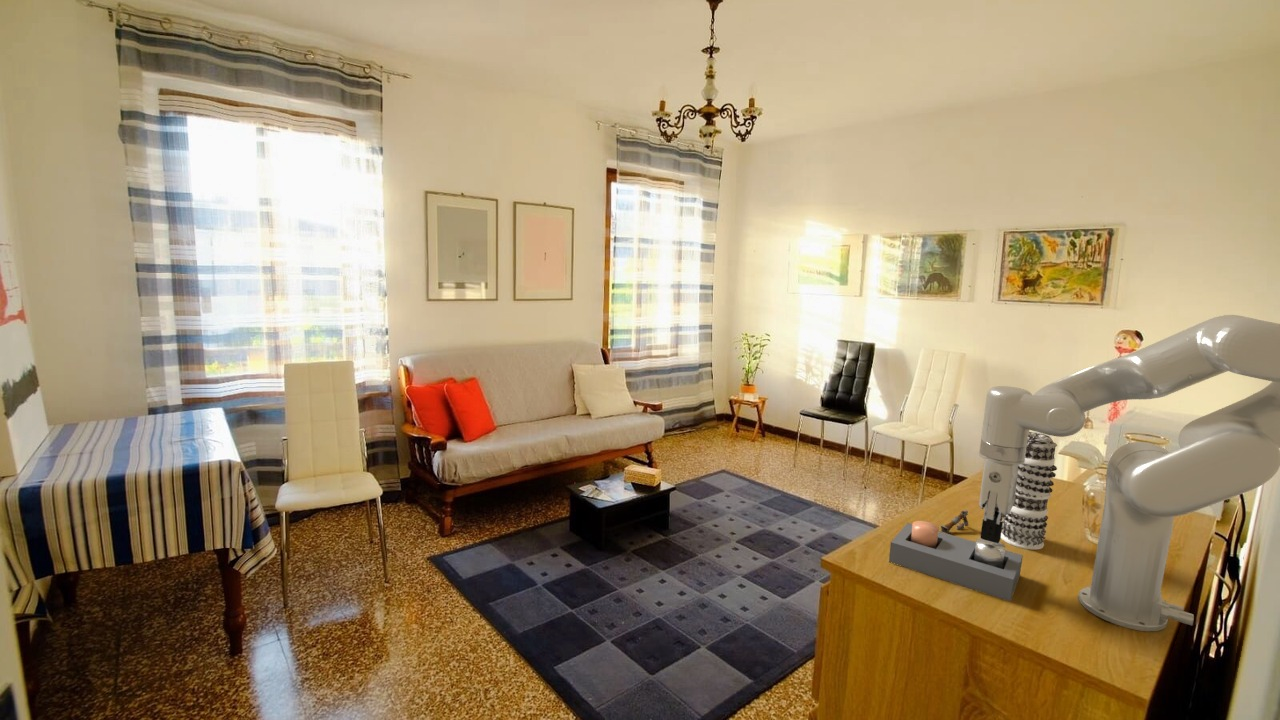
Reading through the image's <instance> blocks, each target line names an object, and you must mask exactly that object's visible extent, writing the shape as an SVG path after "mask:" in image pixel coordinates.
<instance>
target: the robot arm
mask: <svg viewBox="0 0 1280 720" xmlns="http://www.w3.org/2000/svg"><path fill="white" fill-rule="evenodd" d="M1226 372H1231V373H1233V374H1237V375H1240V376H1243V377H1250V378H1254V379H1259V380H1265V381H1269V382H1270V383H1269V384H1268V385H1267V386H1265V387H1264V388H1262V389H1260V390H1259V391H1257V392H1255V393H1253V394H1250V395H1249V396H1247V397H1245V398H1242V399H1241V400H1238V401H1236V402H1233V403H1231V404H1228V405H1227V406H1224V407H1222V408H1219V409H1217V410H1214V411H1213V412H1211V413H1208V414H1204V415H1202V416H1200V417H1198V418H1196V419H1194V420H1192V421H1190V422H1188V423H1187V424H1186V425H1185V426H1183V427H1182V429H1181V430H1180V432H1179V434H1178V444H1179V448H1177V449H1175V450H1172V451H1169V450H1167V449H1165V448H1163V447H1162V446H1160V445H1158V444H1154V443H1151V442H1147V441H1146V442H1145V441H1134V442H1133V441H1132V442H1128V443H1126V444H1124V445H1120V446H1119V447H1118V448H1117V449H1116V450H1115V451H1114V452H1113V453H1112V454H1111V455H1110V458H1109V459H1108V462H1107V467H1106V475H1105V476H1106V477H1105V496H1104V504H1103V511H1102V518H1101V523H1100V529H1099V534H1098V540H1097V546H1096V547H1097V548H1096V551H1095V552H1096V553H1095V559H1094V566H1093V571H1092V577H1091V584H1090V586H1086V587H1083V588H1082V589H1080V591H1078V601H1079V602H1080V604H1081V605H1082V606H1083V608H1084V609H1086V610H1087V611H1089V612H1090V613H1091V614H1093V615H1095V616H1096V617H1098V618H1100V619H1103V620H1104V621H1106V622H1110V623H1111V624H1114V625H1116V626H1120V627H1122V628H1126V629H1131V630H1136V631H1142V632H1159V631H1162V630H1164V629H1165V628H1166V627H1167V625H1168V619H1171V620H1174V621H1177V622H1179V623H1182V624H1185V625H1189V626H1193V625H1194V618H1195V616H1194V614H1193V613H1190V612H1188V611H1184V606H1182V605H1178V604H1175V603H1170V602H1166V599H1163V597H1162V596H1163V593H1162V591H1161V590H1162V586H1163V581H1164V574H1165V570H1166V564H1167V558H1168V554H1169V553H1168V552H1169V547H1170V543H1171V540H1172V534H1173V529H1174V520H1175V517H1180V516H1184V515H1187V514H1189V513H1193V512H1197V511H1199V510H1201V509H1204V508H1207V507H1211V506H1213V505H1216V504H1218V503H1221V502H1223V501H1226V500H1228V499H1229V500H1230V499H1231V498H1234V497H1237V496H1240V495H1243V494H1246V493H1247V492H1248V493H1249V492H1250V491H1253V490H1255V489H1258V488H1259V487H1261V486H1263V485H1264V484H1265V483H1267V482H1269V481H1270V480H1271V479H1272V478H1273V477H1275V475H1276V474H1277V473H1278V471H1279V469H1280V323H1277V322H1272V321H1267V320H1261V319H1257V318H1253V317H1249V316H1242V315H1238V314H1237V315H1236V314H1224V315H1219V316H1216V317H1215V316H1214V317H1211V318H1209V319H1207V320H1203V321H1202V322H1199V323H1197V324H1195V325H1193V326H1191V327H1188V328H1186V329H1183V330H1181V331H1179V332H1177V333H1174V334H1172V335H1170V336H1168V337H1166V338H1163V339H1160V340H1159V341H1156V342H1155V343H1152V344H1150V345H1146V346H1145V347H1142V348H1140V349H1138V350H1135V351H1132V352H1131V353H1130V352H1129V353H1128V354H1126V355H1121V356H1119V357H1116V358H1113V359H1110V360H1107V361H1105V362H1101V363H1099V364H1095V365H1092V366H1088V367H1087V368H1083V369H1081V370H1078V371H1077V372H1074V373H1071V374H1068V375H1067V376H1064V377H1062V378H1060V379H1058V380H1056V381H1052V382H1051V383H1049V384H1046V385H1045V386H1043V387H1041V388H1040V389H1038V390H1037V391H1036V392H1035V393H1034V394H1032V393H1031V392H1030V391H1029V390H1027V389H1024V388H1021V387H1015V386H1007V385H1005V386H1004V385H998V386H993V387H990V388H989V390H987V393H986V398H985V406H984V407H985V408H984V414H983V420H982V428H981V436H980V445H979V452H978V456H979V457H980V458H982V459H983V460H984V465H983V472H982V477H981V484H980V494H979V508H980V509H981V510H984V512H983V518H982V522H981V531H980V538H981V539H984V540H987V541H991V542H994V543H999V542H1000V541H1001V540H1002V539H1001V533H1002V524H1003V522H1002V520H1003V519H1004V517H1003V514H1004V515H1008V514H1009V513H1010V511H1011V509H1012V507H1013V505H1014V502H1015V494H1016V485H1017V476H1018V465H1021V464H1023V463H1024V462H1025V455H1026V448H1027V440H1028V434H1029V432H1030V431H1031V432H1036V433H1041V434H1045V435H1047V436H1050V437H1056V438H1057V437H1058V438H1062V437H1063V438H1064V437H1065V438H1066V437H1070V436H1073V435H1076V434H1078V433H1079V432H1080V431H1081V430H1082V429H1083V427H1084V426H1085V424H1086V412H1089V411H1091V410H1094V409H1097V408H1099V407H1101V406H1104V405H1108V404H1111V403H1116V402H1121V401H1128V400H1129V401H1130V400H1131V401H1132V400H1153V399H1160V398H1163V397H1167V396H1168V395H1171V394H1174V393H1177V392H1179V391H1182V390H1183V389H1187V388H1188V387H1189V388H1190V387H1191V386H1193V385H1196V384H1199V383H1201V382H1204V381H1206V380H1209V379H1212V378H1214V377H1216V376H1219V375H1221V374H1224V373H1226Z"/></svg>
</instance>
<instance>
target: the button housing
mask: <svg viewBox="0 0 1280 720" xmlns="http://www.w3.org/2000/svg"><path fill="white" fill-rule="evenodd" d="M912 524H913V523H911V522H910V523H909V522H907V523H906V524H905V525H904V526H903V527H902V528H901V529H900V531H898V533H897V534H896V535H895V537H894V538H893V539H892V540H891V541H890V544H889V546H890V547H889V556H888V562H889V563H890V562H892V563H891V564H894V563H895V564H894V565H897V564H898V565H897V566H900V565H901V566H900V567H903V566H904V567H903V568H906V567H907V568H906V569H909V568H910V569H909V570H912V569H913V570H912V571H915V570H916V571H915V572H919V573H922V574H925V575H928V576H931V577H934V578H936V579H938V580H939V579H940V580H944V581H946V582H948V583H949V582H950V583H952V584H955V585H959V586H960V587H965V588H967V589H970V590H973V591H976V592H980V593H983V594H986V595H988V596H992V597H995V598H998V599H1001V600H1005V601H1008V602H1011V601H1012V598H1013V596H1014V594H1015V590H1016V588H1017V584H1018V581H1019V580H1018V579H1020V577H1021V570H1022V563H1023V558H1024V557H1023V556H1024V555H1023V554H1019V553H1016V552H1013V551H1009V550H1006V549H1005V554H1004V562H1003V568H1001V569H1000V568H997V567H994V566H990V565H987V564H984V563H980V562H977V561H974V554H975V546H976V541H973V540H970V539H967V538H963V537H960V536H956V535H952V534H948V533H946V532H943V531H938V540H937V548H935V549H934V548H930V547H927V546H924V545H920V544H917V543H914V542H911V534H912Z"/></svg>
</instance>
